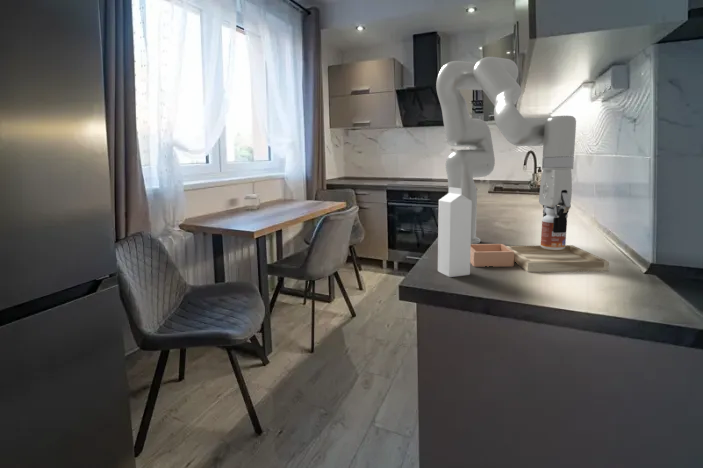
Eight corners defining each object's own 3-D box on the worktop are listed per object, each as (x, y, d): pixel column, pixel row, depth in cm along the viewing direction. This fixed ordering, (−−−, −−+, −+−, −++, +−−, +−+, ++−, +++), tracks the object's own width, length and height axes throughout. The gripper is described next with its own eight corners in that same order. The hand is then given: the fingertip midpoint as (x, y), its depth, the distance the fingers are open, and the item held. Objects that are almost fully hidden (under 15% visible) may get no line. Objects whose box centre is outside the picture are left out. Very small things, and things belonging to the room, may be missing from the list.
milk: (449, 277, 104) (450, 189, 100) (437, 271, 110) (437, 187, 105) (470, 274, 106) (472, 187, 102) (457, 268, 111) (459, 186, 107)
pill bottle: (551, 251, 111) (554, 210, 109) (535, 246, 117) (537, 207, 115) (570, 249, 113) (573, 208, 111) (553, 244, 119) (555, 206, 117)
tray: (504, 254, 126) (504, 246, 126) (571, 253, 125) (572, 245, 125) (527, 271, 107) (528, 262, 106) (608, 271, 105) (609, 261, 105)
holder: (465, 257, 124) (465, 244, 123) (502, 257, 123) (502, 243, 122) (473, 266, 113) (474, 252, 112) (513, 266, 112) (514, 251, 112)
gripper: (531, 164, 120) (528, 225, 123) (557, 164, 103) (552, 236, 106) (558, 163, 119) (554, 225, 122) (588, 163, 102) (583, 235, 106)
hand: (553, 229), depth 114 cm, fingers closed on pill bottle, 6 cm apart
